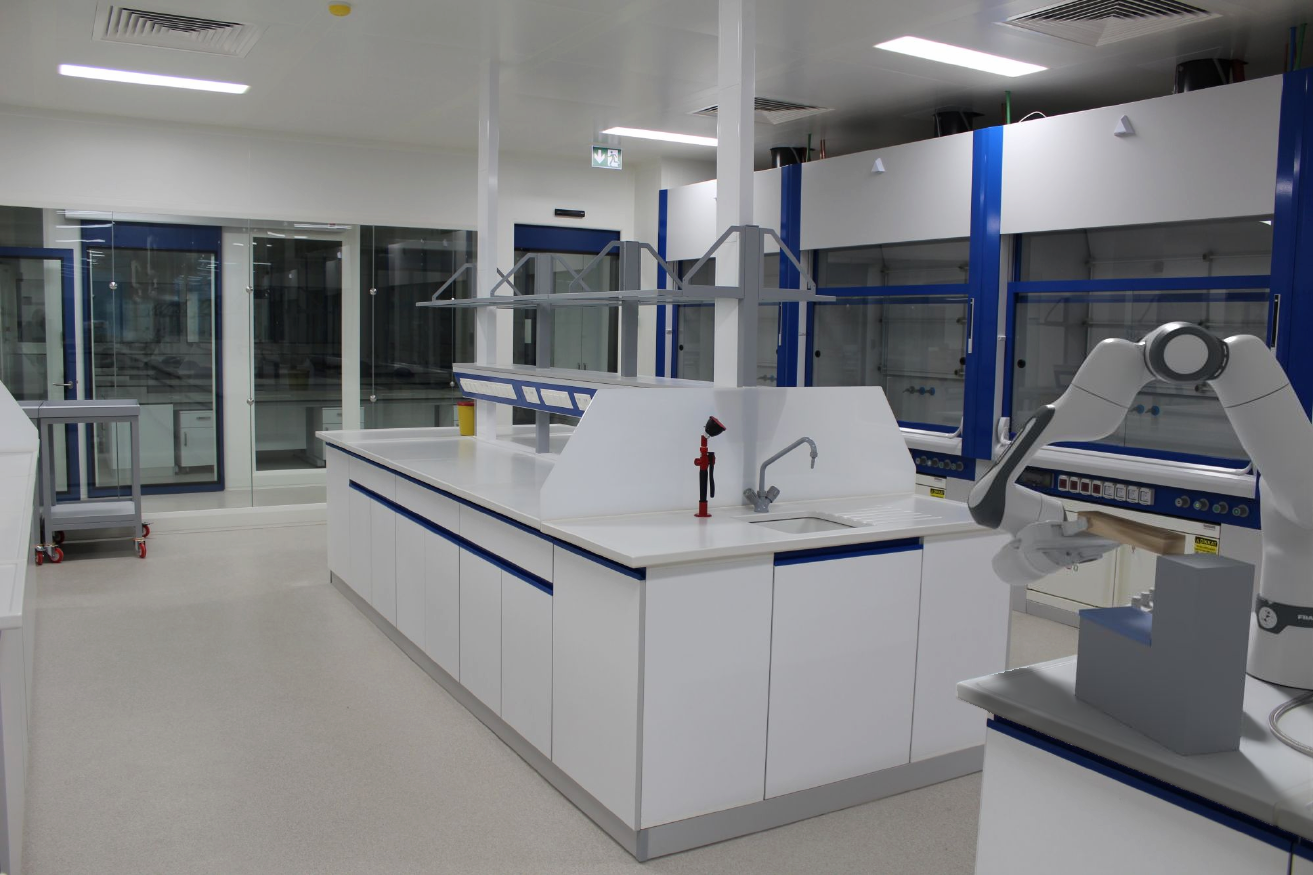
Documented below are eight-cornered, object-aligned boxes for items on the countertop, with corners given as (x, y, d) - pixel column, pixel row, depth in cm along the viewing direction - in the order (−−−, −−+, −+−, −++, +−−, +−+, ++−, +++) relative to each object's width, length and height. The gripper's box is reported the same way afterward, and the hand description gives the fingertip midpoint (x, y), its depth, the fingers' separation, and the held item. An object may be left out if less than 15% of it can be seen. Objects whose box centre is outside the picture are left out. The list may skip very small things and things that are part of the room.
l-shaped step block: (1125, 690, 170) (1136, 531, 166) (1240, 749, 146) (1256, 564, 143) (1073, 695, 167) (1083, 533, 164) (1182, 755, 144) (1197, 568, 141)
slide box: (1096, 527, 171) (1097, 510, 171) (1184, 554, 152) (1185, 535, 152) (1076, 528, 170) (1077, 511, 170) (1162, 555, 151) (1164, 536, 151)
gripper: (999, 530, 178) (1044, 505, 166) (1096, 527, 183) (1146, 502, 171) (1008, 564, 176) (1053, 541, 163) (1105, 560, 181) (1157, 537, 168)
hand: (1102, 521), depth 167 cm, fingers closed on slide box, 4 cm apart
